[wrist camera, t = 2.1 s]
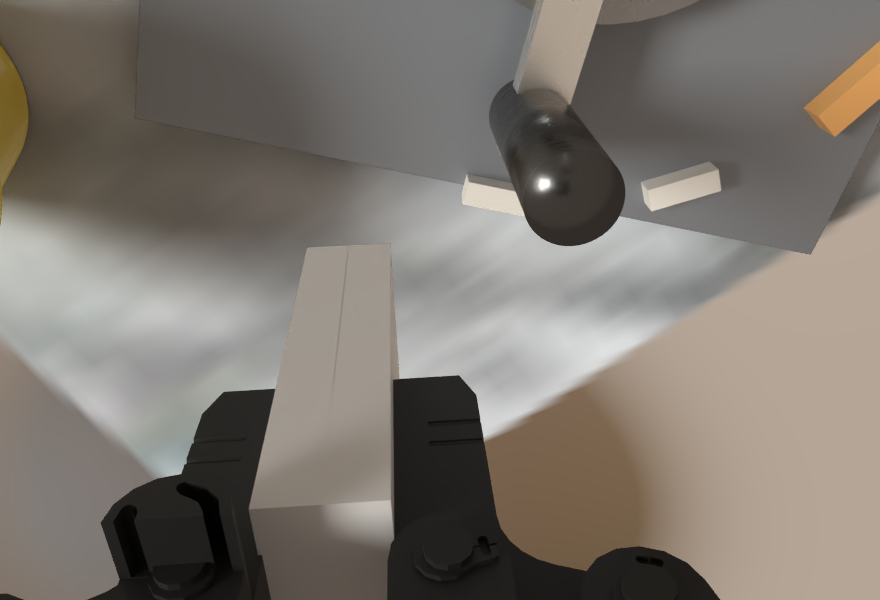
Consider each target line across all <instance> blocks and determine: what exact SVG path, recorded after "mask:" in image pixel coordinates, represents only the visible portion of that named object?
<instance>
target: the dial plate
mask: <svg viewBox="0 0 880 600" xmlns="http://www.w3.org/2000/svg"><path fill="white" fill-rule="evenodd" d="M532 14H533V11H532V10H530V9H528V8H526V7H524V6H522V5H520V4H518V3H516V2H514V1H512V0H140V6H139V30H138V53H137V77H136V101H135V118H136V119H141V120H146V121H151V122H156V123H161V124H166V125H171V126H176V127H181V128H186V129H191V130H196V131H201V132H206V133H210V134H215V135H220V136H225V137H230V138H235V139H240V140H245V141H250V142H255V143H260V144H265V145H270V146H275V147H280V148H285V149H290V150H295V151H300V152H305V153H310V154H315V155H319V156H324V157H329V158H334V159H339V160H344V161H349V162H354V163H359V164H364V165H369V166H374V167H379V168H384V169H389V170H394V171H399V172H404V173H409V174H414V175H419V176H424V177H429V178H433V179H438V180H443V181H448V182H453V183H458V184H463V185H464V187H463V190H462V194H461V197H462V201H463V204H464V205H469V206H474V207H479V208H484V209H489V210H494V211H499V212H504V213H509V214H514V215H519V216H524V217H525V215H524V212H523V209H522V207H521V204H520V202H519V199H518V197H517V194H516V192H515V189H514V186H513V184H512V181H511V179H510V176H509V174H508V171H507V169H506V166H505V163H504V161H503V158H502V156H500V154H499V151H498V149H497V146H496V144H497V143H496V141H495V138H494V135H493V133H492V130H491V127H490V123H489V111H490V106H491V103H492V101H493V99H494V97H495V95H496V94H497V92H498V91H499V90H500V89H501V88H502V87H503V86H504V85H505V84H507V83H508V82H510V81H512V80H514V79H515V75H516V71H517V68H518V64H519V61H520V57H521V53H522V50H523V46H524V43H525V39H526V35H527V32H528V28H529V24H530V21H531V17H532ZM570 106H571V107H572V109H573V110H574V111H575V113H576V114H577V115H578V117H579V118H580V119H581V120H582V122H583V123H584V124H585V126H586V127H587V128H588V130H589V131H590V132H591V134H592V135H593V136H594V137H595V139H596V140H597V141H598V143H599V144H600V145H601V147H602V148H603V149H604V151H605V152H606V153H607V154H608V156H609V157H610V158H611V160H612V161H613V162H614V164H615V165H616V166H617V168H618V169H619V171H620V172H621V175H622V177H623V180H624V183H625V202H624V206H623V209H622V211H621V214H620V216H622V217H627V218H632V219H637V220H642V221H647V222H652V223H657V224H661V225H666V226H671V227H676V228H681V229H686V230H691V231H696V232H701V233H706V234H711V235H716V236H721V237H726V238H731V239H736V240H741V241H746V242H751V243H756V244H761V245H766V246H770V247H775V248H780V249H785V250H790V251H795V252H800V253H805V254H811V253H812V251H813V249H814V247H815V245H816V243H817V242H818V239H819V238H820V236H821V234H822V232H823V230H824V228H825V226H826V224H827V222H828V220H829V218H830V216H831V214H832V212H833V211H834V209H835V207H836V205H837V203H838V201H839V199H840V197H841V195H842V193H843V191H844V189H845V187H846V185H847V183H848V182H849V180H850V178H851V176H852V174H853V172H854V170H855V168H856V166H857V164H858V162H859V160H860V158H861V156H862V154H863V152H864V151H865V149H866V147H867V145H868V143H869V141H870V139H871V137H872V135H873V133H874V131H875V129H876V127H877V125H878V123H879V121H880V0H699V1H697V2H695V3H693V4H692V5H689V6H686V7H684V8H681V9H679V10H676V11H674V12H671V13H668V14H666V15H662V16H658V17H654V18H650V19H646V20H642V21H638V22H629V23H620V24H596V25H595V28H594V31H593V34H592V37H591V41H590V44H589V47H588V50H587V53H586V56H585V59H584V63H583V66H582V69H581V72H580V75H579V78H578V82H577V85H576V88H575V91H574V94H573V97H572V101H571V104H570Z"/></svg>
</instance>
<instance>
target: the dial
mask: <svg viewBox="0 0 880 600" xmlns="http://www.w3.org/2000/svg"><path fill="white" fill-rule="evenodd" d="M512 1H514V2H516V3H518V4H520V5H522V6H524V7H526V8H528V9H530V10H532V11H533V14H532V17H531V21H530V24H529V28H528V32H527V35H526V39H525V43H524V46H523V50H522V53H521V57H520V61H519V64H518V68H517V71H516V75H515V79H514V80H512V81H510V82H508V83H507V84H505V85H504V86H503V87H502V88H501V89H500V90H499V91H498V92H497V94H496V95H495V97H494V99H493V101H492V103H491V106H490V111H489V123H490V127H491V130H492V133H493V135H494V138H495V141H496V143H497V144H496V146H497V149H498V151H499V154H500V156H502V158H503V161H504V163H505V166H506V169H507V171H508V174H509V176H510V179H511V181H512V184H513V186H514V189H515V192H516V194H517V197H518V199H519V202H520V204H521V207H522V209H523V212H524V215H525V217H526V220H527V222H528V224H529V225H530V227H531V228H532V230H533V231H534V232H535V233H536V234H537V235H538V236H540V237H541V238H542V239H544V240H546V241H548V242H550V243H553V244H557V245H562V246H576V245H581V244H585V243H588V242H591V241H593V240H595V239H597V238H598V237H600V236H602V235H603V234H604V233H605V232H607V231H608V230H609V229H610V228H611V227H612V226H613V224H614V223H615V222H616V221H617V219H618V217H619V216H620V214H621V211H622V209H623V206H624V202H625V183H624V180H623V177H622V175H621V172H620V171H619V169H618V168H617V166H616V165H615V164H614V162H613V161H612V160H611V158H610V157H609V156H608V154H607V153H606V152H605V151H604V149H603V148H602V147H601V145H600V144H599V143H598V141H597V140H596V139H595V137H594V136H593V135H592V134H591V132H590V131H589V130H588V128H587V127H586V126H585V124H584V123H583V122H582V120H581V119H580V118H579V117H578V115H577V114H576V113H575V111H574V110H573V109H572V107H571V106H570V104H571V101H572V97H573V94H574V91H575V88H576V85H577V82H578V78H579V75H580V72H581V69H582V66H583V63H584V59H585V56H586V53H587V50H588V47H589V44H590V41H591V37H592V34H593V31H594V28H595V25H596V24H620V23H629V22H638V21H642V20H646V19H650V18H654V17H658V16H662V15H666V14H668V13H671V12H674V11H676V10H679V9H681V8H684V7H686V6H689V5H692V4H693V3H695V2H697V1H699V0H512Z"/></svg>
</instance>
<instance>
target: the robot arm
mask: <svg viewBox="0 0 880 600" xmlns="http://www.w3.org/2000/svg"><path fill="white" fill-rule="evenodd" d="M101 525H102V528H103V531H104V534H105V537H106V540H107V543H108V546H109V549H110V551H111V555H112V558H113V561H114V563H115V567H116V570H117V573H118V575H119V578H120V580H119V583H118V585H117V586H116V587H114V588H112V589H111V590H109V591H107V592H105V593H103V594H100V595H98V596H96V597H93V598H90V599H88V600H720V599H719V598H718V596H717V595H716V594H715V593H714V591H713V590H712V588H711V587H710V586H709V584H708V583H707V582H706V581H705V579H704V578H703V577H701V576H700V575H699V574H698V573H697V572H696V571H695V570H694V569H693V568H692V567H691V566H690V565H689V564H688V563H686V562H684V561H682V560H680V559H678V558H676V557H674V556H672V555H670V554H668V553H666V552H664V551H660V550H655V549H649V548H645V547H630V548H620V549H615V550H613V551H611V552H609V553H606V554H605V555H602V556H600V557H598V558H597V559H596V560H595V561H594V563H593V564H592V565H591V566H590V568H589V569H588V570H587V571H583V570H578V569H573V568H569V567H564V566H559V565H554V564H551V563H548V562H545V561H541V560H538V559H536V558H534V557H532V556H530V555H528V554H527V553H525V552H523V551H521V550H520V549H519V548H518V547H516V546H515V545H514V544H513V543H512V542H510V541H509V539H508V538H507V536H506V535H505V534H504V532H503V531H502V530H501V528H500V525H499V521H498V519H497V515H496V509H495V504H494V498H493V492H492V486H491V480H490V474H489V469H488V463H487V456H486V450H485V445H484V440H483V433H482V427H481V423H480V415H479V409H478V403H477V397H476V394H475V393H474V392H473V391H472V390H471V389H470V387H469V386H468V385H467V384H466V383H465V382H464V381H463V380H462V378H461V377H460V376H443V377H427V378H410V379H399V364H398V350H397V335H396V321H395V307H394V292H393V278H392V264H391V250H390V243H384V244H365V245H347V246H328V247H309V248H307V251H306V255H305V259H304V264H303V268H302V273H301V277H300V282H299V286H298V291H297V295H296V300H295V304H294V309H293V313H292V318H291V322H290V327H289V331H288V336H287V340H286V345H285V349H284V353H283V358H282V362H281V367H280V371H279V376H278V380H277V385H276V389H265V390H249V391H232V392H223V393H222V394H221V395H220V396H219V397H218V398H217V400H216V401H215V402H214V403H213V404H212V405H211V406H210V407H209V408H208V409H207V410H206V411H205V412H204V413H203V414H202V417H201V419H200V422H199V425H198V428H197V431H196V434H195V436H194V443H193V444H192V445H191V448H190V451H189V454H188V456H187V464H185V465H184V468H183V471H182V474H180V475H174V476H169V477H164V478H159V479H156V480H153V481H151V482H149V483H146V484H144V485H142V486H140V487H137V488H135V489H133V490H132V491H130V492H129V493H128V494H127V495H125V496H124V497H123V498H121V499H120V500H119V501H117V502H116V503H115V504H114V505H113V506H112V507H111V509H110V510H109V512H108V513H107V515H106V516H105V517H104V519H103V520H102V522H101ZM0 600H23V599H20V598H17V597H15V596H12V595H9V594H0Z"/></svg>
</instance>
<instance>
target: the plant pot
mask: <svg viewBox="0 0 880 600" xmlns="http://www.w3.org/2000/svg"><path fill="white" fill-rule="evenodd" d="M28 120H29V112H28V103H27V98H26V93H25V89H24V86H23V83H22V80H21V78H20V75H19V73H18V71H17V69H16V67H15V65H14V64H13V62H12V60H11V59H10V57H9V55H8V54H7V52H6V51H5V50H4V48H3V47H2V46H1V44H0V224H1V215H2V189H3V187H4V185H5V183H6V181H7V179H8V177H9V174H10V172H11V171H12V169H13V167H14V165H15V163H16V161H17V159H18V157H19V155H20V153H21V152H22V149H23V146H24V143H25V139H26V135H27V131H28Z"/></svg>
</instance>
